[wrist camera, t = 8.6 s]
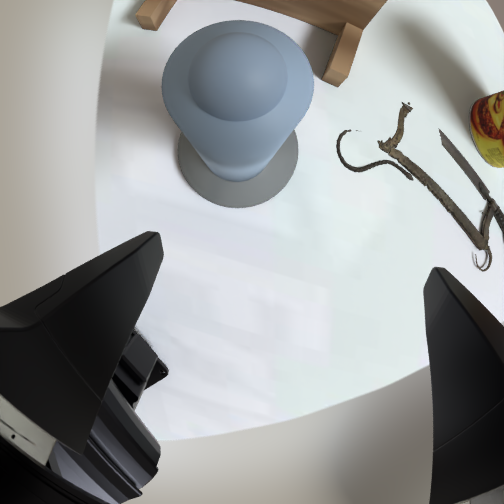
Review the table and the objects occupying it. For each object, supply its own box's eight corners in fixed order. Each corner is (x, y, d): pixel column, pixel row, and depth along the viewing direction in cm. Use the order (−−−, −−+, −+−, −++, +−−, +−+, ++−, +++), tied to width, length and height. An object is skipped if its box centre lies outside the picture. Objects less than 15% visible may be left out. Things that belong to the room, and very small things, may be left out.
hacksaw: (513, 236, 25) (522, 237, 24) (475, 308, 26) (483, 312, 25) (384, 74, 22) (391, 69, 20) (324, 152, 23) (330, 149, 21)
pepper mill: (229, 195, 22) (215, 175, 7) (190, 143, 21) (120, 50, 7) (284, 156, 22) (360, 81, 7) (244, 105, 21) (257, -24, 6)
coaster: (225, 231, 23) (224, 232, 22) (157, 140, 21) (155, 138, 21) (319, 163, 22) (321, 162, 22) (250, 76, 21) (251, 73, 20)
